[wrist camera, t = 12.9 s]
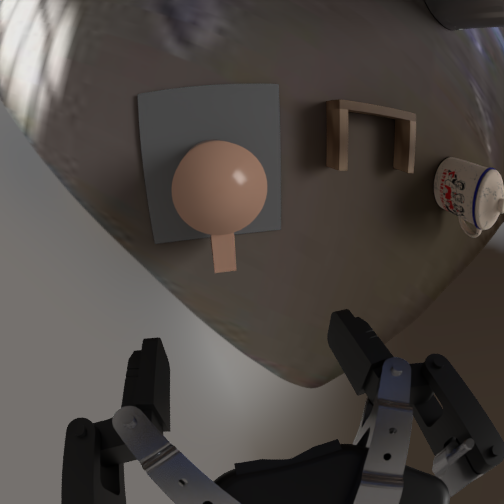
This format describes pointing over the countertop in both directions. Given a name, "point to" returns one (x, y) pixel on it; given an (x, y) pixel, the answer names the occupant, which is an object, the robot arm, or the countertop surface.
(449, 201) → the teacup with lid
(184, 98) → the charcoal mat
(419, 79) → the countertop surface
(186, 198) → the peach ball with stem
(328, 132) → the walnut holder
